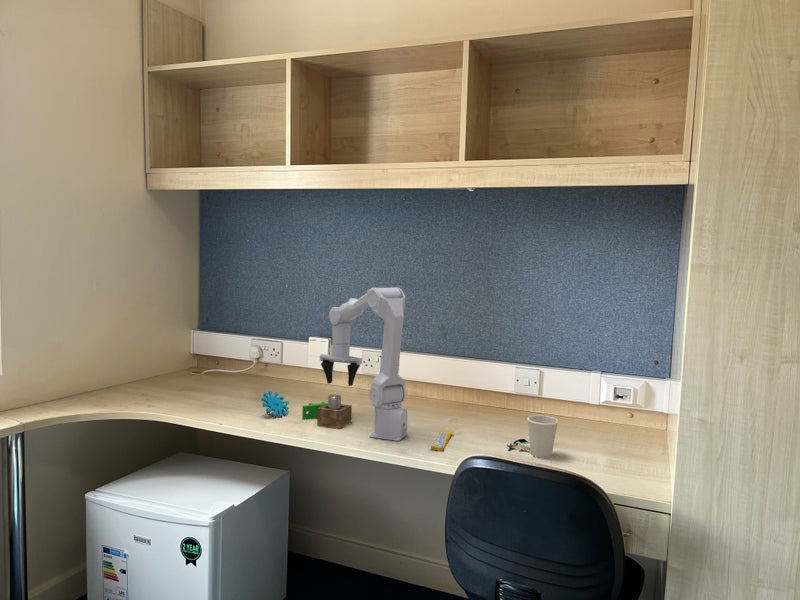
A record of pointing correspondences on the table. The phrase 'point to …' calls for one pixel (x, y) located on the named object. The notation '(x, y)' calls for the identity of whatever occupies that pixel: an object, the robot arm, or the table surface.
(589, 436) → the table surface
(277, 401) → the gear
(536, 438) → the dixie cup
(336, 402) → the peg
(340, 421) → the socket
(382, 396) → the robot arm
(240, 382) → the table surface
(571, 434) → the table surface
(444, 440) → the candy bar
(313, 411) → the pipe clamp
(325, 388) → the table surface
